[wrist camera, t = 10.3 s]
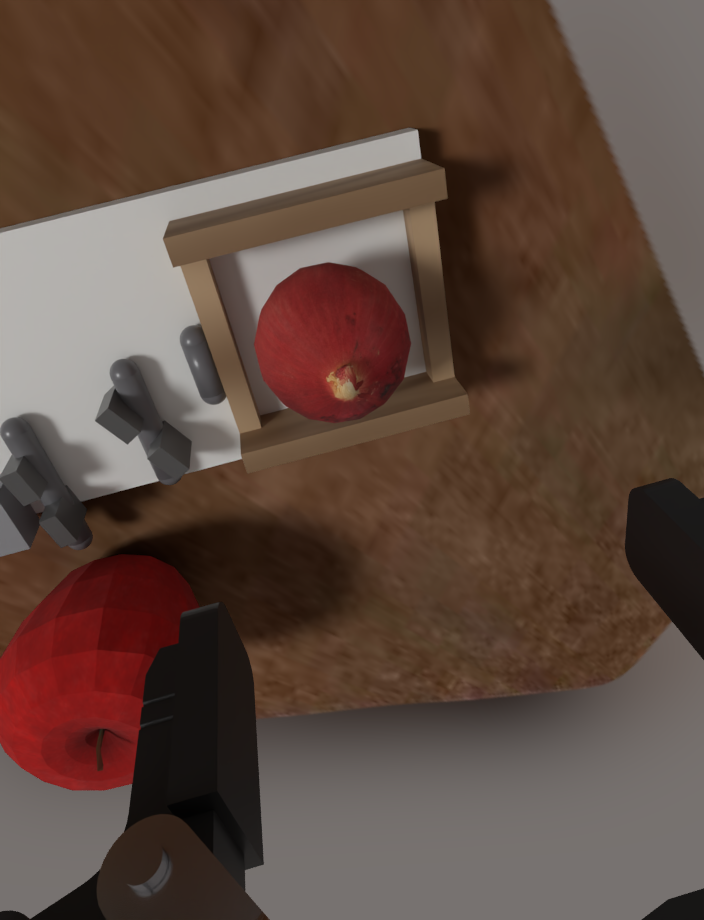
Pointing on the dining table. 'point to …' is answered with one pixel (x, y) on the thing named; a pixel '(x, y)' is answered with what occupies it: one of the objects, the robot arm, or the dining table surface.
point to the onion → (332, 342)
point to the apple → (88, 670)
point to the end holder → (303, 214)
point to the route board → (153, 335)
